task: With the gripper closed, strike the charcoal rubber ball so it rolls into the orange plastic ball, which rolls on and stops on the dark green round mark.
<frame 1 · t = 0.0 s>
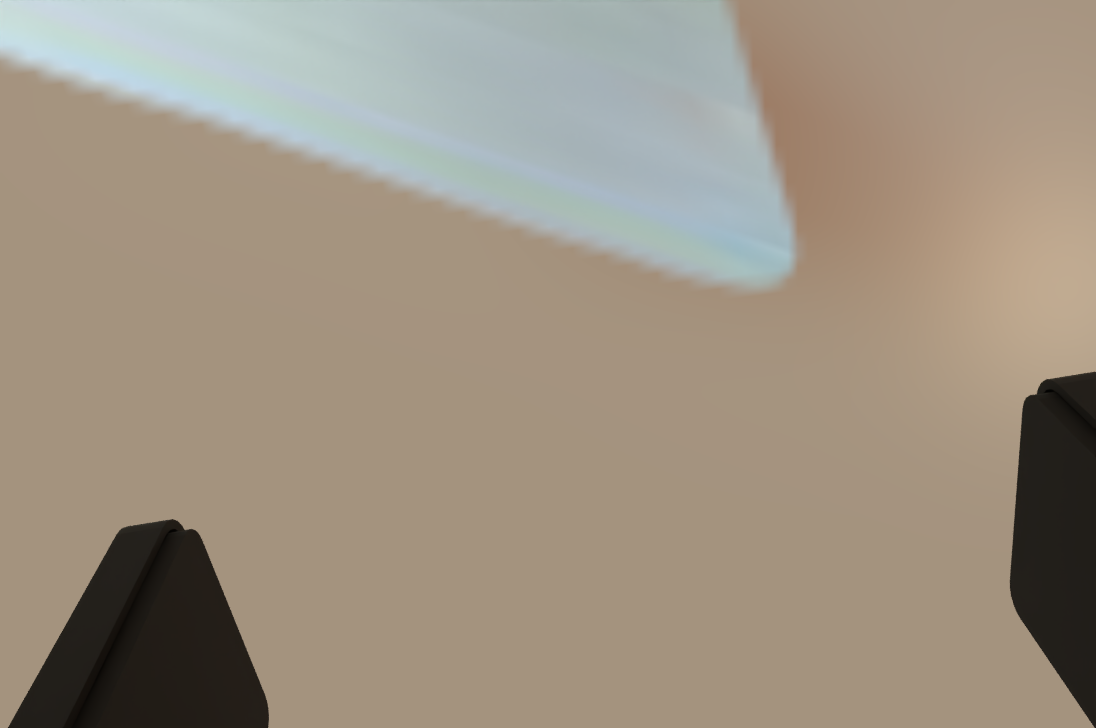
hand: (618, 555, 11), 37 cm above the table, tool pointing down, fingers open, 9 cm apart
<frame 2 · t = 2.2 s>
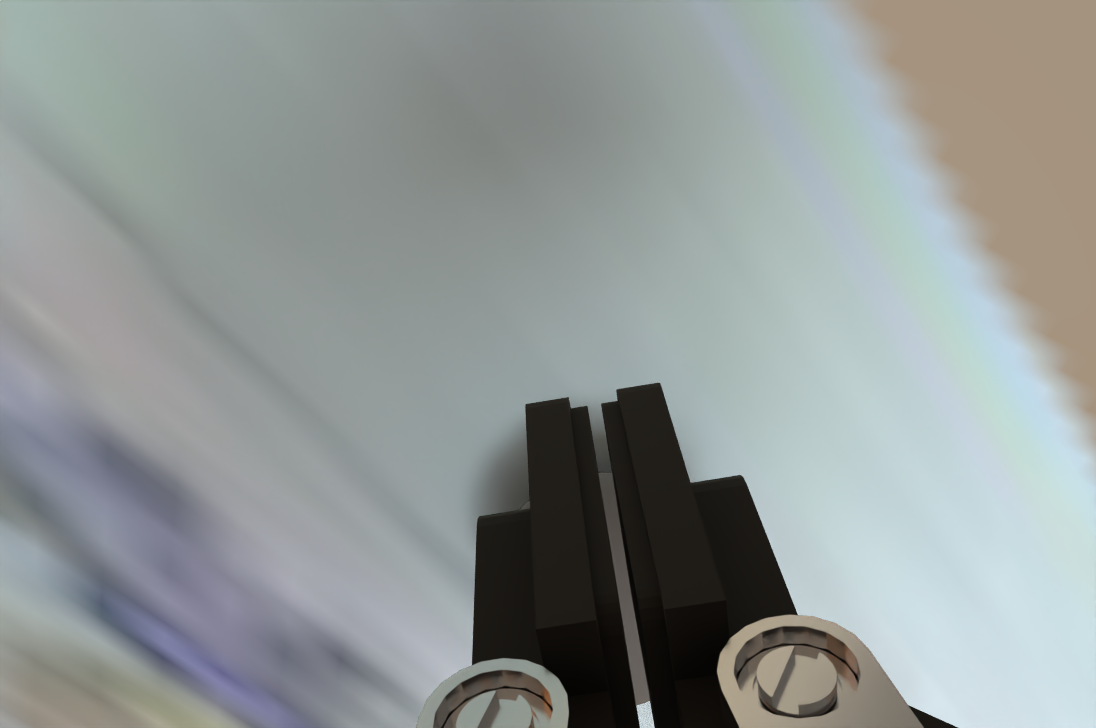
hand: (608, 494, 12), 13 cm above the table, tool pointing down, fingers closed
charcoal ball: (603, 588, 26), on the table
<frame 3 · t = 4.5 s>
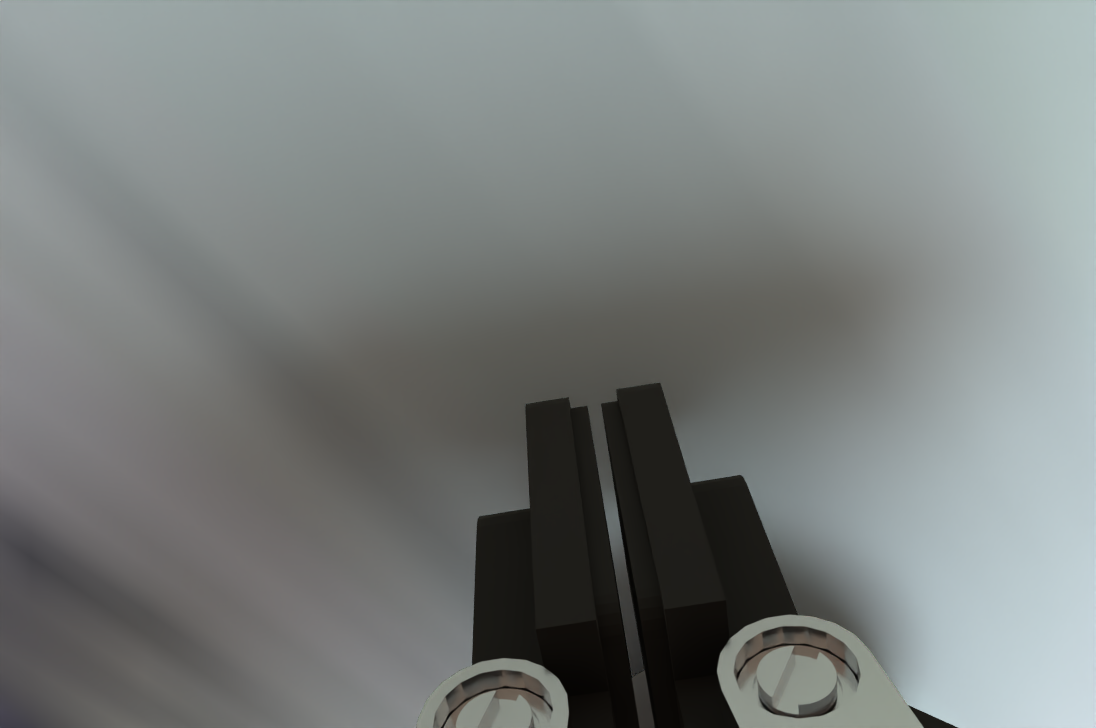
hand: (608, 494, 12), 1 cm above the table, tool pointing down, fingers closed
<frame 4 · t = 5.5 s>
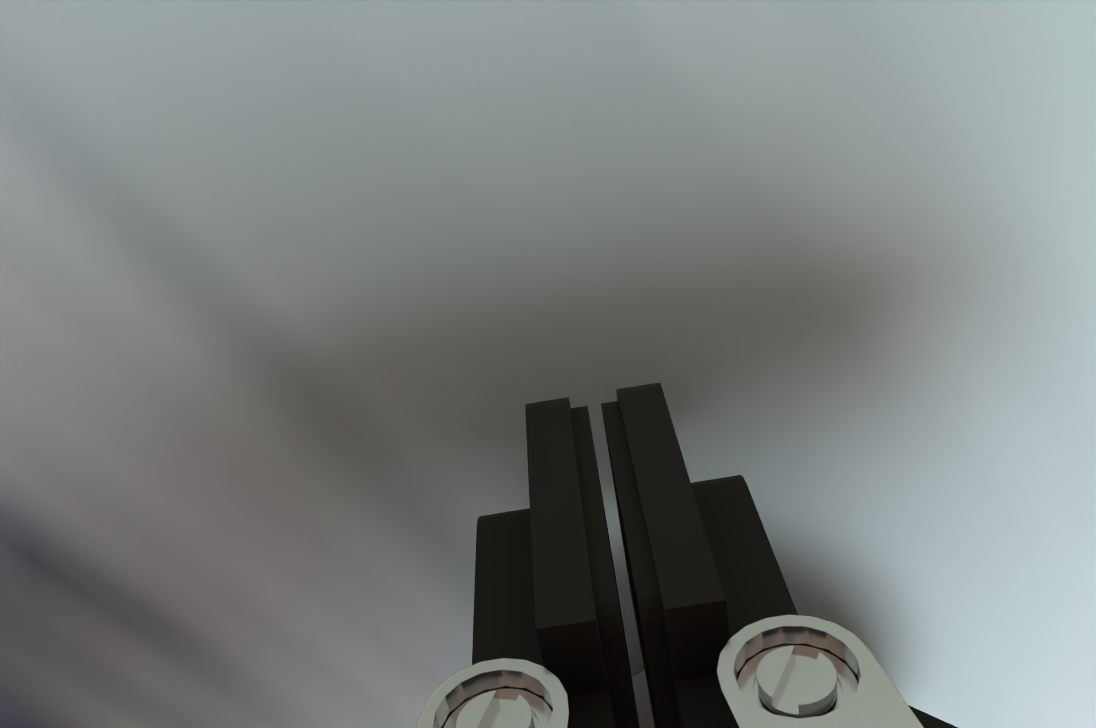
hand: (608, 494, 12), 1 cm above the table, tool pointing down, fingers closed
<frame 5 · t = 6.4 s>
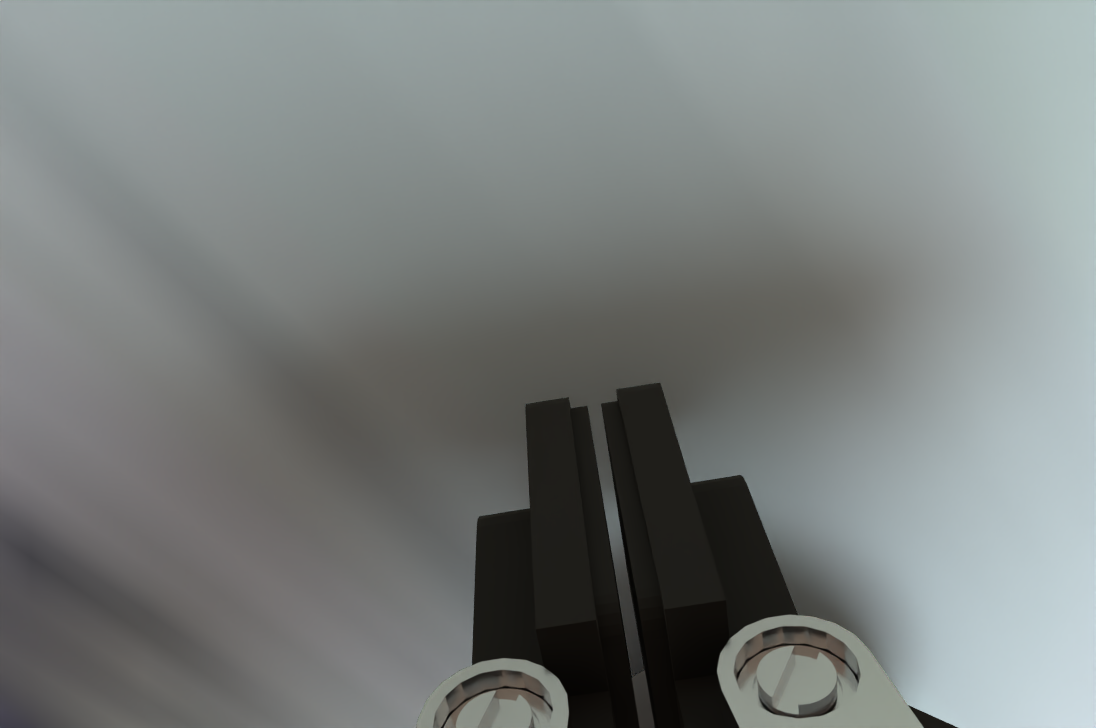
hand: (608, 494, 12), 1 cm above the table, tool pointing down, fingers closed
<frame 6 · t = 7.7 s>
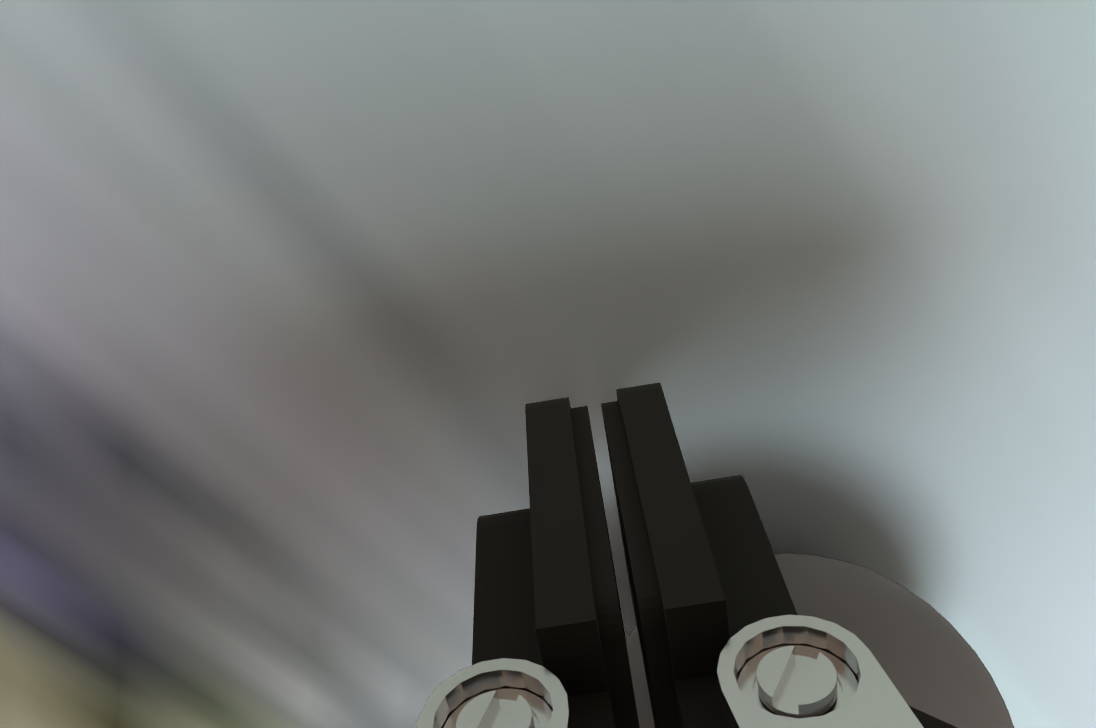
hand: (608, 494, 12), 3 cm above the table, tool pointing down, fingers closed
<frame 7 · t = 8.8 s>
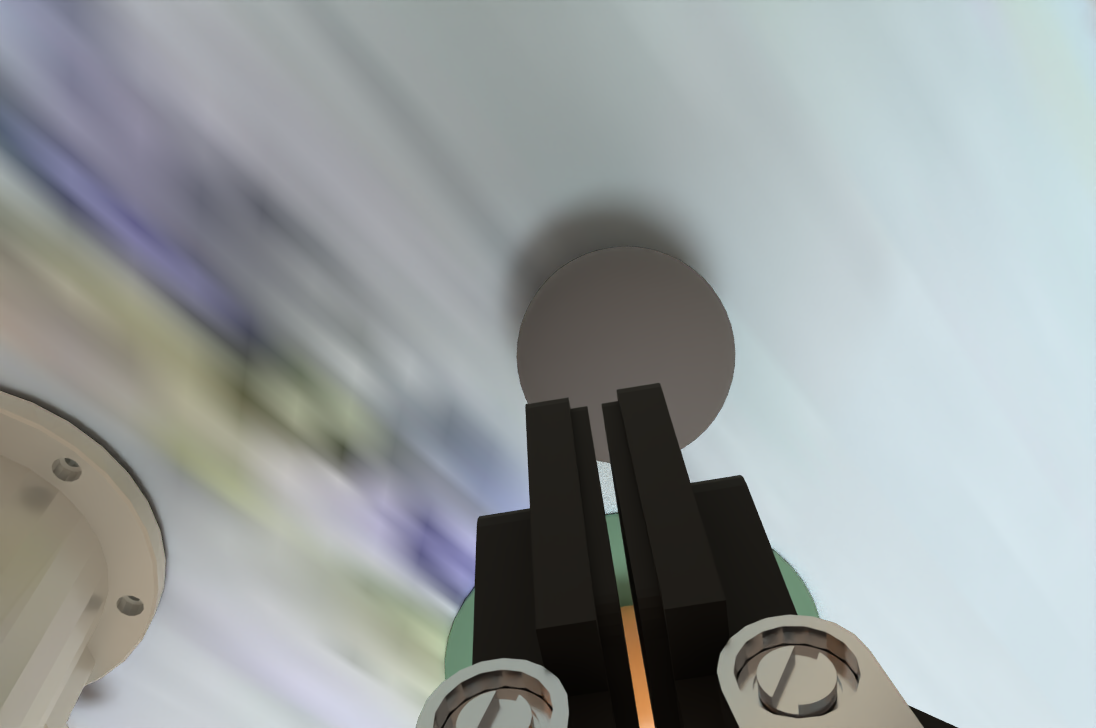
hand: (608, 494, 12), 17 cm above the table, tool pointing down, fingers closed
green mark: (633, 665, 37), on the table
charcoal ball: (625, 355, 27), on the table
orange ball: (641, 696, 33), on the table
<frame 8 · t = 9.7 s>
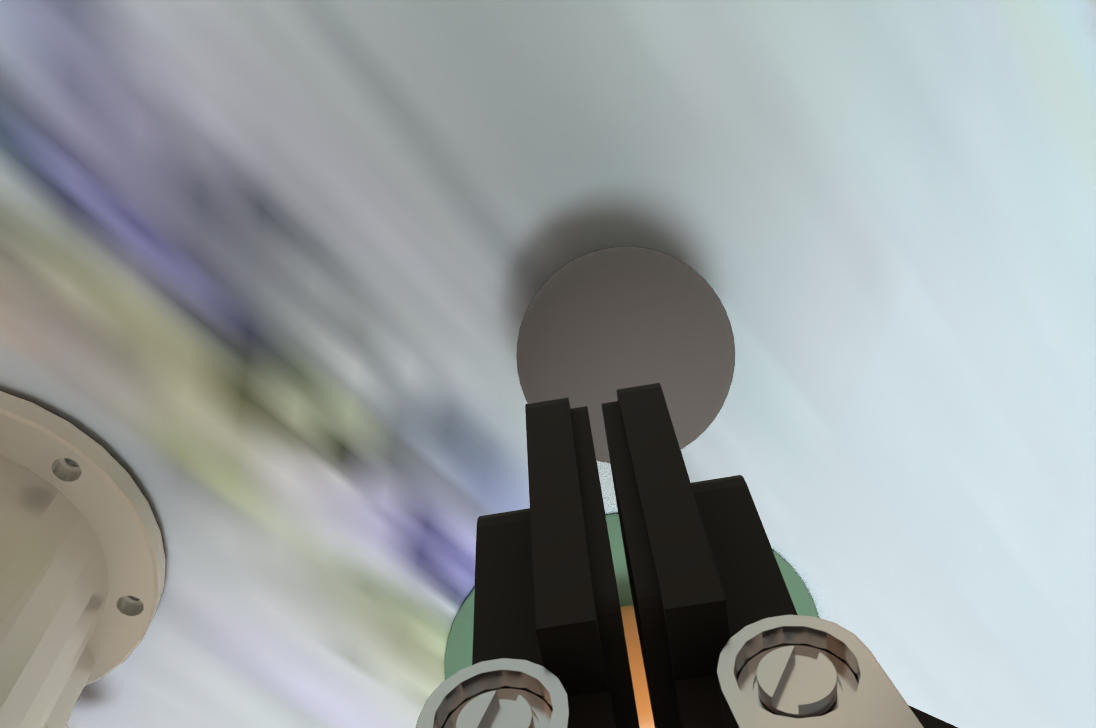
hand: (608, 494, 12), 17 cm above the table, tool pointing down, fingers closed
green mark: (633, 665, 37), on the table
charcoal ball: (624, 355, 27), on the table
orange ball: (641, 696, 33), on the table
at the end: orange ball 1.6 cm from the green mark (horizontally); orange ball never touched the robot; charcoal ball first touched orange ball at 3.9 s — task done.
